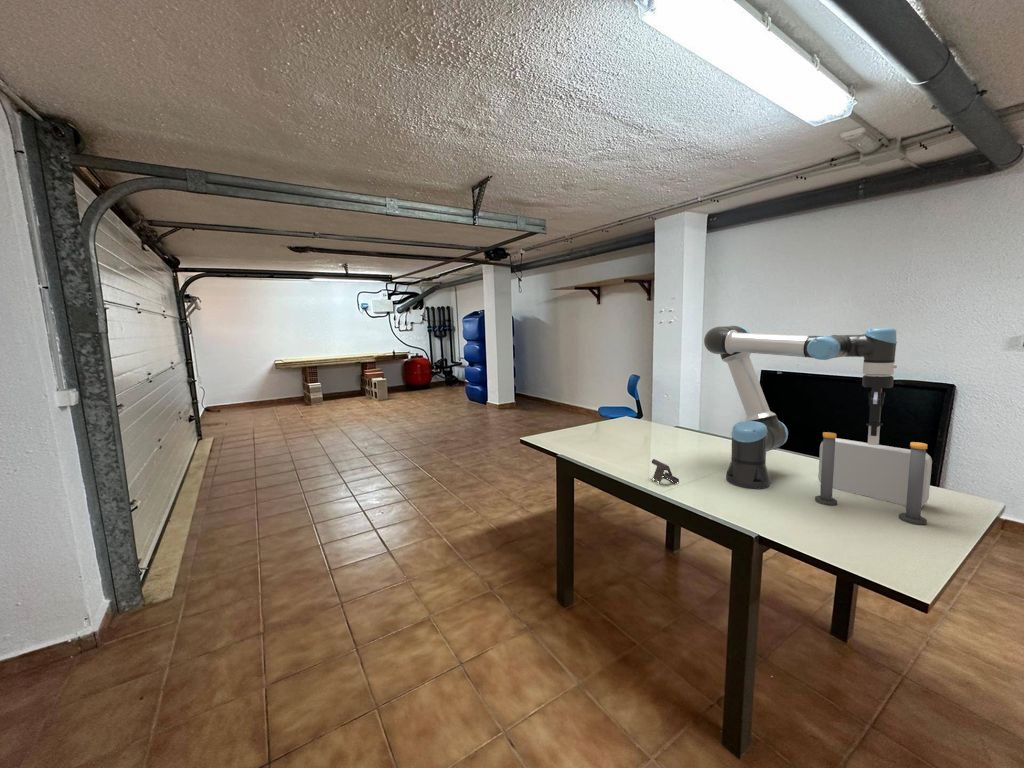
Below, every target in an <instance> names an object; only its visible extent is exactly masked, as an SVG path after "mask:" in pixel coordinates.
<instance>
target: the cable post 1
mask: <svg viewBox="0 0 1024 768" xmlns="http://www.w3.org/2000/svg"><path fill="white" fill-rule="evenodd" d="M835 438H837V433H835V432H830V431H827V432H825V431H823V432H822V439H823V440H822V442H823V453H822V471H821V483H820V489H819V490H820V492H819V493H820V494H819V495H816V496H814V501H815V502H816V503H818V504H820V505H824V506H831V507H832V506H837V505H838V500H837V499H836V498H833V489H834V488H833V473H834V455H835Z"/></svg>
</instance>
